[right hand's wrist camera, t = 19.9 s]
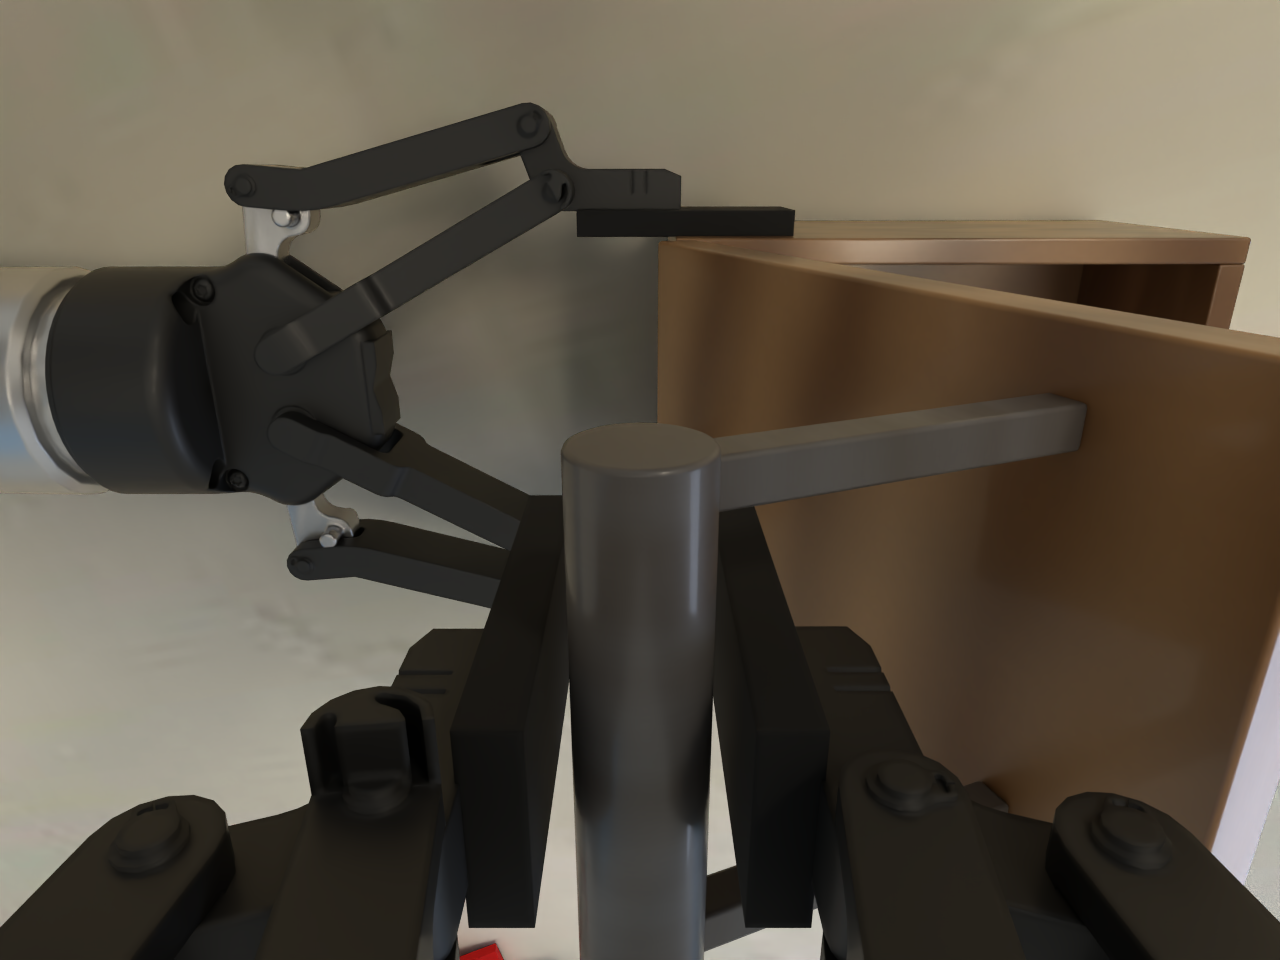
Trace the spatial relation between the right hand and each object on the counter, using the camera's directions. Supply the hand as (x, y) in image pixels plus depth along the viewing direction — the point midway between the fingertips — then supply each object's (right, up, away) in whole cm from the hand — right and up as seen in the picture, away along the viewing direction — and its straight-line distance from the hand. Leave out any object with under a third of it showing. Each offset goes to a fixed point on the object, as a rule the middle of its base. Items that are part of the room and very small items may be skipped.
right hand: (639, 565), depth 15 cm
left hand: (+5, +5, +13) cm, 14 cm away
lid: (+5, +1, +3) cm, 6 cm away
